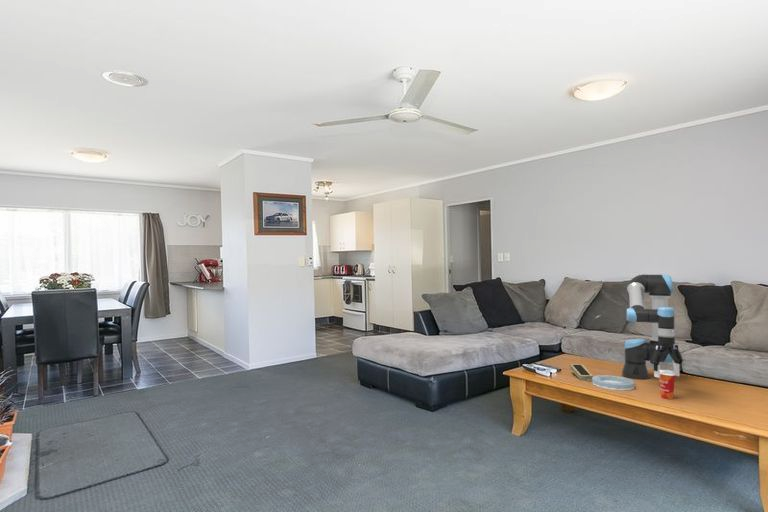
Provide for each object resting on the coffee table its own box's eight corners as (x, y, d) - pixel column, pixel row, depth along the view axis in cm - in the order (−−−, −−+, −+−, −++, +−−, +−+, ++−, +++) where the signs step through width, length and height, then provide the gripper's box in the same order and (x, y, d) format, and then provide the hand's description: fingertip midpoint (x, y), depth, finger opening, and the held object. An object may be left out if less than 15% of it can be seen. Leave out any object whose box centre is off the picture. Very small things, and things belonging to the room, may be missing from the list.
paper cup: (655, 395, 237) (655, 369, 237) (669, 395, 236) (669, 369, 237) (664, 399, 229) (663, 372, 229) (679, 399, 229) (678, 373, 229)
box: (581, 370, 286) (581, 363, 285) (596, 386, 264) (596, 378, 263) (568, 370, 287) (568, 363, 286) (582, 386, 264) (582, 378, 264)
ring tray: (612, 379, 271) (612, 374, 271) (643, 388, 250) (643, 383, 250) (584, 381, 264) (583, 376, 264) (613, 391, 243) (613, 386, 243)
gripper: (654, 338, 226) (655, 379, 225) (690, 336, 233) (691, 376, 233) (642, 336, 233) (642, 376, 232) (677, 334, 241) (677, 373, 240)
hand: (666, 376), depth 233 cm, fingers open, 13 cm apart
